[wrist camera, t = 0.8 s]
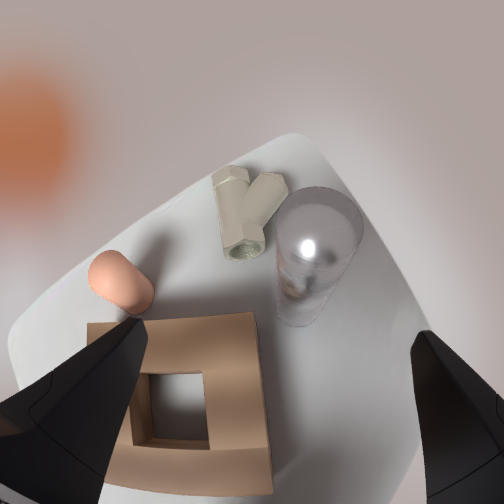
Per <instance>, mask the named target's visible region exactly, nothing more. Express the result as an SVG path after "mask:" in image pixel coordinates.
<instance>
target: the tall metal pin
mask: <svg viewBox="0 0 504 504" xmlns="http://www.w3.org/2000/svg"><path fill="white" fill-rule="evenodd" d="M362 235H363V221H362V217H361V214H360V212H359V210H358V209H357V207H356V206H355V204H354V203H353V202H352V201H351V200H350V199H349V198H348V197H346V196H345V195H343V194H342V193H340V192H338V191H336V190H333V189H330V188H325V187H307V188H303V189H300V190H298V191H296V192H294V193H292V194H291V195H289V196H288V197H287V198H286V199H285V200H284V202H283V203H282V204H281V206H280V208H279V211H278V215H277V261H276V312H277V314H278V316H279V318H280V319H281V320H282V321H283V322H284V323H285V324H287V325H289V326H291V327H304V326H307V325H309V324H311V323H312V322H313V321H314V320H315V319H316V317H317V316H318V314H319V312H320V311H321V309H322V308H323V306H324V304H325V303H326V301H327V299H328V298H329V296H330V294H331V293H332V291H333V289H334V288H335V286H336V284H337V283H338V281H339V279H340V277H341V276H342V274H343V272H344V270H345V269H346V267H347V265H348V263H349V261H350V260H351V258H352V256H353V254H354V252H355V251H356V249H357V247H358V245H359V243H360V241H361V239H362Z"/></svg>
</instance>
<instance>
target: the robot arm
mask: <svg viewBox="0 0 504 504" xmlns="http://www.w3.org/2000/svg"><path fill="white" fill-rule="evenodd" d="M147 343H148V334H147V331H146V328H145V325H144V322H143V320H142V319H141V318H140V317H133V316H130V317H128V318H127V319H125V320H124V321H122V322H121V323H119V324H118V325H116V326H115V327H114V328H112V329H111V330H109V331H108V332H106V333H105V334H103V335H102V336H101V337H99V338H98V339H96V340H95V341H93V342H92V343H90V344H89V345H88V346H86V347H85V348H83V349H82V350H80V351H79V352H78V353H76V354H75V355H73V356H72V357H70V358H69V359H68V360H66V361H65V362H63V363H62V364H61V365H59V366H58V367H56V368H55V369H54V370H53V371H51V372H49V373H48V374H46V375H45V376H43V377H42V378H40V379H39V380H38V381H36V382H35V383H33V384H31V385H30V386H28V387H26V388H25V389H23V390H21V391H20V392H18V393H16V394H15V395H13V396H11V397H9V398H8V399H6V400H4V401H3V402H1V403H0V504H98V501H99V497H100V494H101V490H102V487H103V483H104V480H105V479H104V478H105V476H106V473H107V469H108V466H109V463H110V460H111V456H112V453H113V450H114V447H115V444H116V441H117V438H118V435H119V432H120V429H121V426H122V423H123V420H124V417H125V414H126V412H127V409H128V406H129V403H130V400H131V398H132V395H133V392H134V389H135V387H136V384H137V381H138V378H139V374H140V370H141V366H142V362H143V358H144V354H145V351H146V347H147ZM410 356H411V364H412V374H413V385H414V394H415V400H416V406H417V412H418V418H419V424H420V431H421V438H422V446H423V455H424V465H425V478H426V492H427V493H426V495H427V504H504V400H503V399H502V398H501V397H500V396H499V394H496V392H495V391H494V390H493V389H492V388H491V387H490V386H489V385H488V384H487V383H486V382H485V381H484V380H483V379H482V378H481V377H480V376H479V375H478V374H477V373H476V372H475V371H474V370H473V369H472V368H471V367H470V366H469V365H468V364H467V363H466V362H465V361H464V360H462V358H460V357H459V356H458V355H457V354H456V353H455V352H454V351H453V350H452V349H451V348H450V347H449V346H448V345H446V344H445V343H444V342H443V341H442V340H441V339H440V338H439V337H438V336H436V335H435V334H434V333H433V332H432V331H430V330H426V331H420V332H419V333H418V335H417V337H416V339H415V341H414V343H413V345H412V347H411V351H410Z"/></svg>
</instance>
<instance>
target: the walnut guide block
mask: <svg viewBox="0 0 504 504" xmlns="http://www.w3.org/2000/svg"><path fill="white" fill-rule="evenodd" d="M143 322H144V325H145V328H146V331H147V334H148V343H147V347H146V351H145V354H144V358H143V362H142V366H141V370H140V374H139V378H138V381H137V384H136V387H135V389H134V392H133V395H132V398H131V400H130V403H129V406H128V409H127V412H126V414H125V417H124V420H123V423H122V426H121V429H120V432H119V435H118V438H117V441H116V444H115V447H114V450H113V453H112V456H111V460H110V463H109V466H108V469H107V473H106V476H105V478H104V479H105V480H104V483H108V484H112V485H117V486H122V487H127V488H132V489H138V490H144V491H151V492H158V493H167V494H177V495H190V496H214V497H233V496H258V495H271V494H273V479H274V477H273V468H272V459H271V450H270V442H269V433H268V424H267V415H266V406H265V397H264V388H263V379H262V370H261V361H260V352H259V343H258V334H257V325H256V320H255V317H254V313H253V311H251V312H242V313H233V314H223V315H213V316H202V317H190V318H177V319H164V320H148V321H143ZM119 323H121V322H106V323H87V346H88V345H89V344H90V343H92V342H93V341H95V340H96V339H98V338H99V337H101V336H102V335H103V334H105V333H106V332H108V331H109V330H111V329H112V328H114V327H115V326H116V325H118V324H119ZM197 373H203V384H204V396H205V406H206V416H207V426H208V435H209V440H187V439H163V438H154V430H153V421H152V410H151V397H150V382H149V374H197Z"/></svg>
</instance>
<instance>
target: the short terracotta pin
mask: <svg viewBox="0 0 504 504" xmlns="http://www.w3.org/2000/svg"><path fill="white" fill-rule="evenodd" d="M88 283H89V286H90V288H91V289H92V290H93V291H94V292H95V293H97V294H98V295H100V296H102V297H103V298H105V299H106V300H108V301H110V302H111V303H113V304H115V305H116V306H118V307H120V308H122V309H123V310H125V311H127V312H129V313H131V314H138V313H141V312H143V311H145V310H146V309H147V308H148V307H149V306H150V305H151V303H152V301H153V298H154V288H153V285H152V283H151V282H150V281H149V280H148V279H147V278H146V277H145V276H144V275H143V274H142V273H141V272H140V271H139V270H138V269H137V268H136V267H135V266H134V265H133V264H131V263H130V262H129V261H128V260H127V259H126V258H125V257H124V256H123V255H122V254H121V253H120V252H118V251H115V250H108V251H105V252H103V253H101V254H99V255H98V256H97V257H96V258H95V259H94V260H93V262H92V263H91V265H90V268H89V271H88Z"/></svg>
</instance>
